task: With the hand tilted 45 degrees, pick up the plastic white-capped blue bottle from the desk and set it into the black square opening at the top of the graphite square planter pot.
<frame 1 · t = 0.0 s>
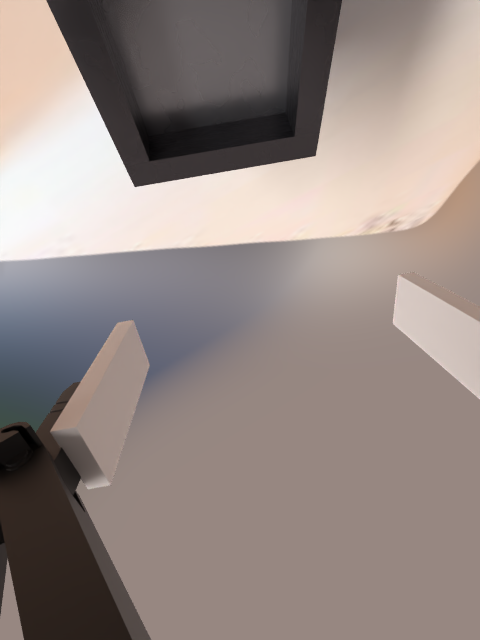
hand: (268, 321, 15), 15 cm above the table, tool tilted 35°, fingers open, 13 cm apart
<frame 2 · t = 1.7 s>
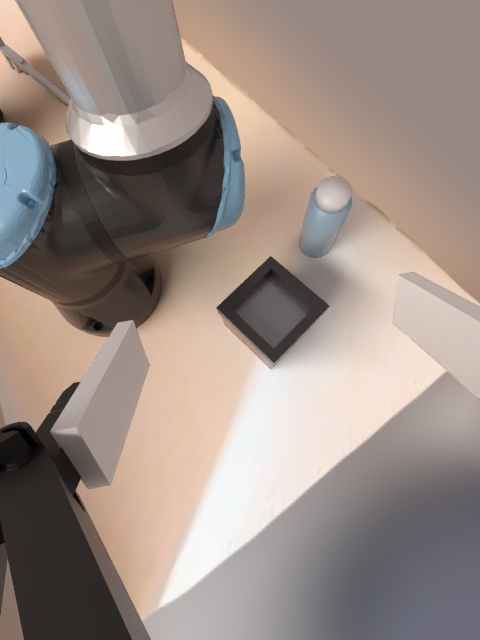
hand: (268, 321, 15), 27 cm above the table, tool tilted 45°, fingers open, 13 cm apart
white-capped blue bottle: (314, 243, 45), on the table
square planter pot: (269, 324, 42), on the table
caliper: (47, 90, 58), on the table
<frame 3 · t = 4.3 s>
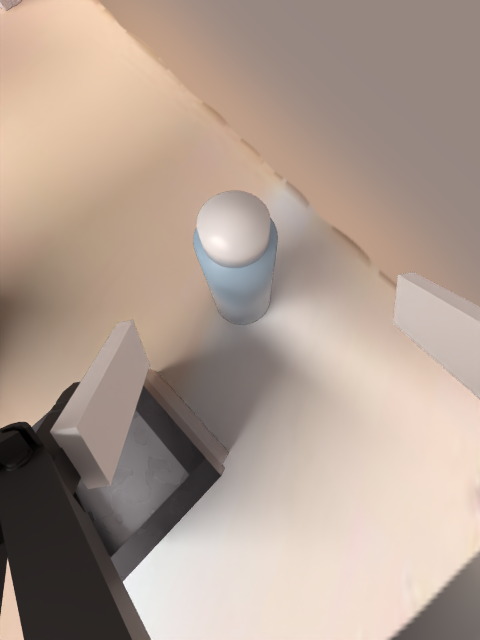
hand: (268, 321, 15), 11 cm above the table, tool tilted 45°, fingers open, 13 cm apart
white-capped blue bottle: (242, 298, 27), on the table
square planter pot: (150, 451, 23), on the table
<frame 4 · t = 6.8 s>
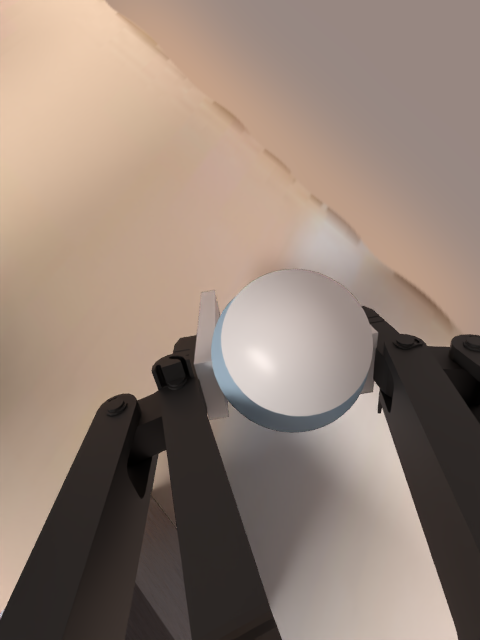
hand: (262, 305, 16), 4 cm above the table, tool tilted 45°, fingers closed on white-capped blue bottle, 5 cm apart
white-capped blue bottle: (271, 378, 19), on the table, touching gripper
square planter pot: (136, 627, 15), on the table
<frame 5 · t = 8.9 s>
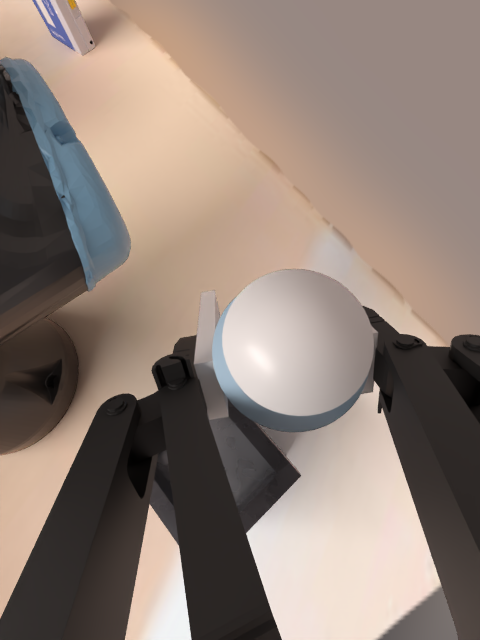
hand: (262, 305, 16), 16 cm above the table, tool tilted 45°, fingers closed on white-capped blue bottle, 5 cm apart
walkman: (74, 42, 47), on the table
white-capped blue bottle: (272, 378, 19), point 12 cm above the table, touching gripper
square planter pot: (221, 452, 29), on the table
when the fingers open (11 cm above the table, at t = 10.8 s): white-capped blue bottle drops 1 cm, resting on square planter pot.
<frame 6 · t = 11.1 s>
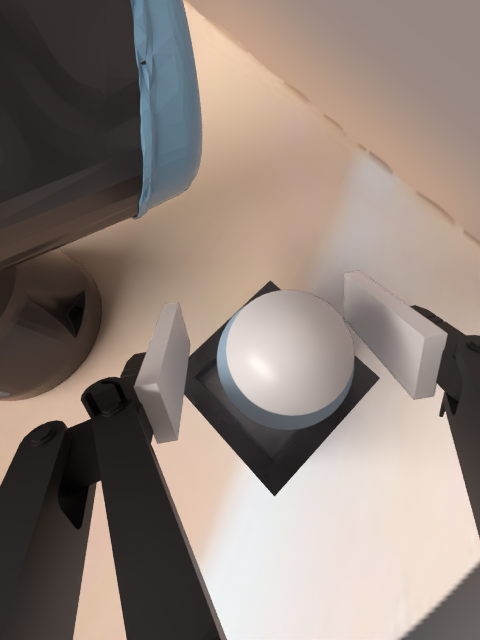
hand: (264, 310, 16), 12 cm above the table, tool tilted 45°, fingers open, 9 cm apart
white-capped blue bottle: (270, 381, 20), point 6 cm above the table, touching square planter pot
square planter pot: (267, 386, 26), on the table
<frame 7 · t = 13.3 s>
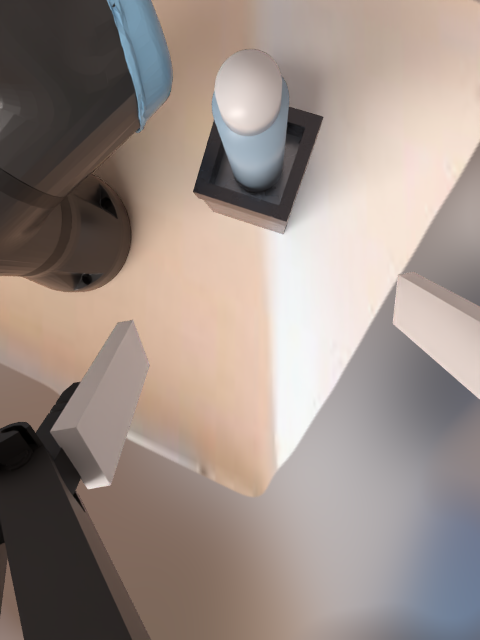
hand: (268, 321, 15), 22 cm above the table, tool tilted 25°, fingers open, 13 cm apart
white-capped blue bottle: (257, 165, 29), point 6 cm above the table, touching square planter pot
square planter pot: (260, 185, 35), on the table
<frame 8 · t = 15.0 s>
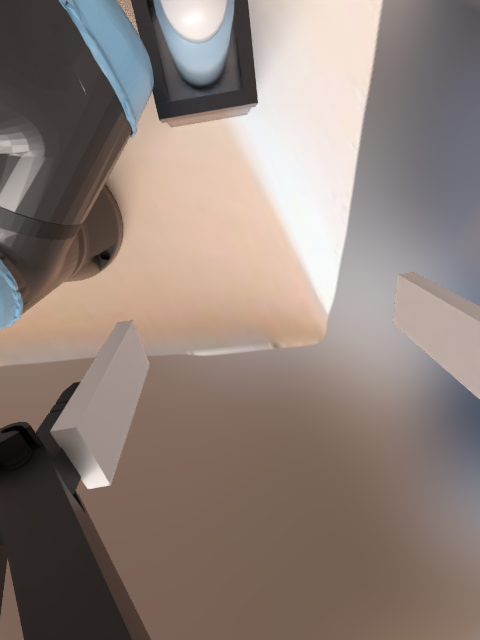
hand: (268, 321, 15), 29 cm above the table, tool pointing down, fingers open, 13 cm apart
white-capped blue bottle: (199, 54, 27), point 6 cm above the table, touching square planter pot
square planter pot: (201, 72, 32), on the table
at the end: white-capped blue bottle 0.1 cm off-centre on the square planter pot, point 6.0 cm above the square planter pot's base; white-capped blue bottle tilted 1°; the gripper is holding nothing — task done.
